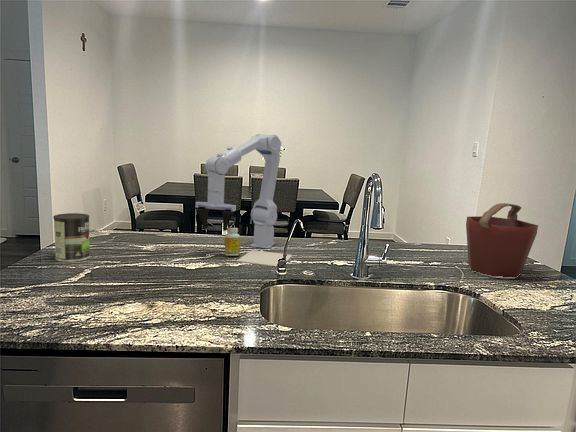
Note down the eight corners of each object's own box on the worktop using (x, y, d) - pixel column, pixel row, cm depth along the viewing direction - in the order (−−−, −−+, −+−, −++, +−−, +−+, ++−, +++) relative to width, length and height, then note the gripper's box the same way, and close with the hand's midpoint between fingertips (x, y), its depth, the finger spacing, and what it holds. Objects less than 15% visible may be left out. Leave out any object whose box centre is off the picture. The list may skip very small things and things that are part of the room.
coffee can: (95, 254, 141) (95, 214, 139) (80, 263, 131) (79, 219, 129) (66, 252, 141) (64, 212, 139) (48, 261, 131) (46, 217, 129)
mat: (251, 251, 158) (252, 250, 158) (292, 256, 154) (292, 255, 154) (236, 261, 143) (236, 260, 143) (281, 267, 139) (281, 266, 139)
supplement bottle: (232, 256, 146) (232, 228, 145) (221, 255, 149) (221, 228, 149) (242, 254, 150) (243, 228, 150) (232, 253, 153) (232, 227, 153)
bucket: (494, 262, 163) (503, 199, 158) (548, 280, 143) (560, 208, 138) (446, 266, 153) (454, 199, 149) (496, 285, 133) (507, 209, 129)
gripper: (191, 190, 143) (191, 229, 146) (231, 194, 140) (229, 233, 142) (200, 188, 150) (199, 225, 152) (238, 192, 147) (237, 229, 149)
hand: (214, 229), depth 148 cm, fingers open, 7 cm apart
